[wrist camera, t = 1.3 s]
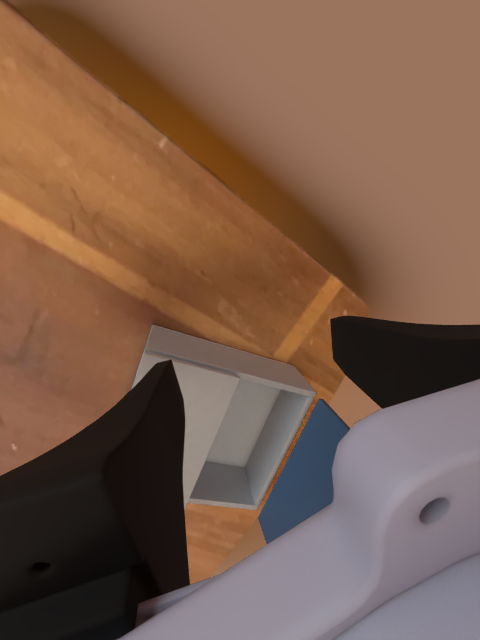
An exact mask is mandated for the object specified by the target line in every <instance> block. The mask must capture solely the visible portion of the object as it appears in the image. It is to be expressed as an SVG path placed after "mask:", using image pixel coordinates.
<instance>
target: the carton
mask: <svg viewBox="0 0 480 640" xmlns="http://www.w3.org/2000/svg"><path fill="white" fill-rule="evenodd" d="M170 359H172V363H173V366H174V369H175V373H176V376H177V379H178V383H179V386H180V389H181V392H182V396H183V399H184V408H185V440H184V458H183V495H184V509H185V507H186V505H187V503H194V504H203V505H213V506H222V507H232V508H241V509H251V510H258V508H259V506H260V504H261V502H262V500H263V498H264V496H265V494H266V492H267V490H268V488H269V486H270V484H271V482H272V480H273V478H274V476H275V474H276V472H277V470H278V468H279V466H280V464H281V462H282V460H283V458H284V457H285V455H286V453H287V451H288V449H289V447H290V445H291V443H292V441H293V439H294V437H295V435H296V433H297V431H298V429H299V427H300V425H301V423H302V421H303V419H304V417H305V415H306V413H307V411H308V409H309V407H310V405H311V403H312V401H313V399H314V397H315V395H316V394H317V393H316V391H315V390H314V389H313V388H312V387H311V385H310V384H309V383H308V382H307V381H306V379H305V378H304V377H303V376H302V374H301V373H300V372H299V371H298V370H297V368H296V367H295V366H293V365H290V364H286V363H283V362H280V361H276V360H273V359H269V358H266V357H263V356H259V355H256V354H252V353H249V352H245V351H242V350H239V349H235V348H232V347H228V346H225V345H222V344H218V343H215V342H211V341H208V340H204V339H201V338H198V337H194V336H191V335H187V334H184V333H181V332H177V331H174V330H170V329H167V328H163V327H160V326H157V325H152V328H151V331H150V334H149V337H148V340H147V343H146V346H145V349H144V352H143V355H142V358H141V361H140V364H139V367H138V370H137V373H136V376H135V380H134V383H133V386H132V389H133V388H134V387H135V386H136V384H137V383H138V382H139V381H140V380H141V379H142V378H143V377H144V376H145V375H146V374H147V372H148V371H149V370H150V369H151V368H152V367H153V366H154V365H155V364H156V363H159V362H163V361H166V360H170ZM132 389H131V390H132Z"/></svg>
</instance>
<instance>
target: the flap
mask: <svg viewBox="0 0 480 640" xmlns="http://www.w3.org/2000/svg"><path fill="white" fill-rule="evenodd" d="M349 430H350V428H349V427H348V426H347V424H346V423H345V422H344V421H343V420H342V419H341V418H340V417H339V416H338V415H337V414H336V413H335V412H334V411H333V410H332V408H331V407H330V406H329V405H328V404H327V403H326V402H325V401H324V400H323V399H319V400H318V402H317V404H316V406H315V408H314V410H313V412H312V414H311V416H310V418H309V419H308V421H307V423H306V425H305V427H304V429H303V431H302V433H301V435H300V437H299V439H298V441H297V443H296V445H295V447H294V449H293V451H292V453H291V455H290V457H289V458H288V460H287V462H286V464H285V466H284V468H283V470H282V472H281V474H280V476H279V478H278V480H277V482H276V484H275V486H274V488H273V490H272V492H271V494H270V495H269V497H268V499H267V501H266V503H265V505H264V507H263V509H262V511H261V513H260V515H259V517H258V519H259V522H260V525H261V528H262V531H263V534H264V537H265V540H266V543H267V544H268V543H270V542H272V541H273V540H275V539H276V538H278V537H279V536H281V535H283V534H284V533H286V532H287V531H289V530H290V529H292V528H294V527H295V526H297V525H298V524H300V523H301V522H303V521H305V520H306V519H308V518H309V517H311V516H312V515H314V514H316V513H317V512H319V511H320V510H322V509H323V508H325V507H327V506H328V505H330V504H331V503H332V502H333V496H334V489H333V477H332V467H333V463H334V458H335V454H336V449H337V446H338V444H339V442H340V441H341V440H342V438H343V437H344V436H345V435H346V433H347V432H348V431H349Z"/></svg>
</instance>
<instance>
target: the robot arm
mask: <svg viewBox="0 0 480 640" xmlns="http://www.w3.org/2000/svg"><path fill="white" fill-rule="evenodd" d="M330 321H331V336H332V350H333V359H334V361H335V362H336V363H337V365H338V366H339V367H340V369H341V370H342V371H343V372H344V373H345V375H346V376H347V377H348V378H350V379H351V380H352V381H353V382H354V383H355V384H356V385H357V386H358V387H359V388H360V389H361V390H363V391H364V392H365V393H366V394H367V395H368V396H369V397H370V398H371V399H372V400H373V401H374V402H376V403H377V404H378V405H379V406H380V407H381V408H382V409H381V410H378V411H376V412H374V413H372V414H370V415H369V416H367V417H365V418H364V419H361V420H359V421H358V422H356V423H355V424H354V425H353V426H352V427H351V429H350V430H349V431H348V432H347V433H346V435H345V436H344V437H343V438H342V440H341V441H340V442H339V444H338V446H337V449H336V454H335V458H334V463H333V467H332V477H333V489H334V496H333V502H332V503H331V504H330V505H328V506H327V507H325V508H323V509H322V510H320V511H319V512H317V513H316V514H314V515H312V516H311V517H309V518H308V519H306V520H305V521H303V522H301V523H300V524H298V525H297V526H295V527H294V528H292V529H290V530H289V531H287V532H286V533H284V534H283V535H281V536H279V537H278V538H276V539H275V540H273V541H272V542H270V543H268V544H267V545H265V546H264V547H262V548H261V549H259V550H257V551H256V552H254V553H253V554H251V555H250V556H248V557H247V558H245V559H243V560H242V561H241V562H239V563H237V564H235V565H234V566H232V567H231V568H229V569H228V570H226V571H224V572H223V573H221V574H219V575H216V576H213V577H210V578H208V579H205V580H202V581H199V582H196V583H194V584H191V585H190V581H189V569H188V556H187V543H186V529H185V513H184V495H183V458H184V440H185V408H184V399H183V396H182V392H181V389H180V386H179V383H178V379H177V376H176V373H175V369H174V366H173V363H172V359H170V360H166V361H163V362H159V363H156V364H155V365H154V366H153V367H152V368H151V369H150V370H149V371H148V372H147V374H146V375H145V376H144V377H143V378H142V379H141V380H140V381H139V382H138V383H137V384H136V386H135V387H134V388H133V389H132V390H131V391H130V392H128V393H127V394H126V395H125V396H124V397H123V398H122V399H121V400H120V401H119V402H118V403H117V404H116V405H115V406H114V407H112V408H111V409H110V410H109V411H108V412H106V413H105V414H104V415H103V416H101V417H100V418H99V419H97V420H96V421H95V422H93V423H92V424H90V425H89V426H87V427H86V428H85V429H83V430H82V431H80V432H79V433H77V434H76V435H74V436H73V437H71V438H70V439H68V440H67V441H65V442H63V443H62V444H60V445H58V446H57V447H55V448H53V449H51V450H50V451H48V452H46V453H44V454H43V455H41V456H39V457H37V458H35V459H33V460H32V461H30V462H28V463H26V464H24V465H22V466H20V467H18V468H16V469H14V470H11V471H9V472H7V473H5V474H3V475H1V476H0V640H480V325H432V324H415V323H405V322H396V321H388V320H380V319H373V318H365V317H357V316H341V317H337V318H333V319H330Z"/></svg>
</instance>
